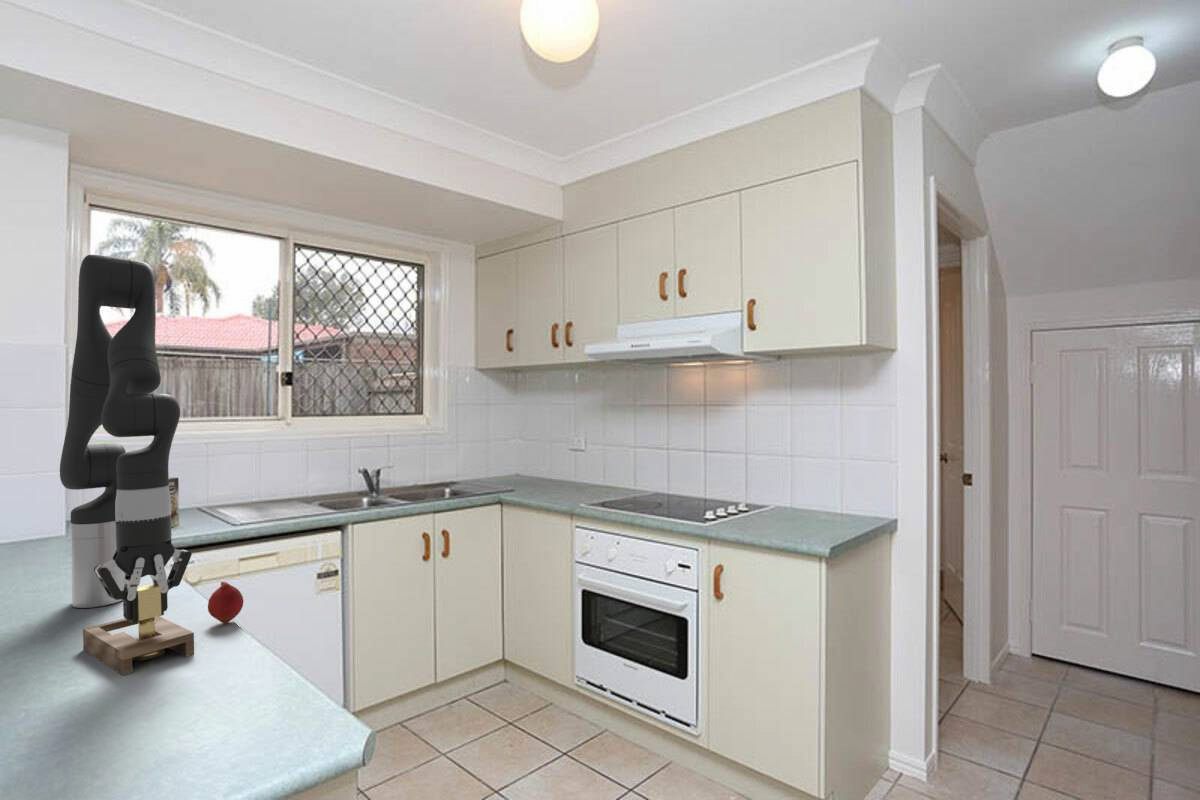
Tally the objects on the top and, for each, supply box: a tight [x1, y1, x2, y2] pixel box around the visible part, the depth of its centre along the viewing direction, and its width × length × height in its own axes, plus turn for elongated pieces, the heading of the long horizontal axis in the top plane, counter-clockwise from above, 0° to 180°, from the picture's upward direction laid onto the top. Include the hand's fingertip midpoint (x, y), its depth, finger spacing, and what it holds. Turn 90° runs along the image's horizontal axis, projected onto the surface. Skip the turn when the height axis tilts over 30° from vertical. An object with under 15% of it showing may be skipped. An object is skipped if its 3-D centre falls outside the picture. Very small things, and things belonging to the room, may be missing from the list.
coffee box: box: [169, 477, 180, 528], centre depth 212 cm, size 9×6×16 cm
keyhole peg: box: [132, 583, 166, 662], centre depth 107 cm, size 5×5×11 cm
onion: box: [207, 580, 244, 624], centre depth 122 cm, size 6×6×8 cm
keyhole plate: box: [82, 616, 195, 676], centre depth 109 cm, size 18×10×4 cm, turn 54°
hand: (145, 617), depth 107 cm, fingers closed on keyhole peg, 3 cm apart
